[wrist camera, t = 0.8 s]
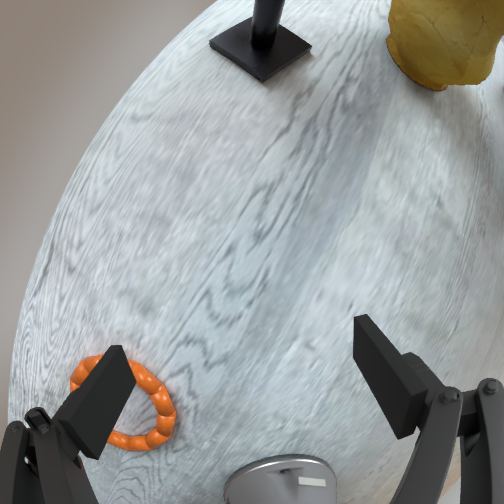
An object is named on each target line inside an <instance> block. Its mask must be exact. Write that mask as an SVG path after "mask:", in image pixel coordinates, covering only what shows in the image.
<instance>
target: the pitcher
mask: <svg viewBox="0 0 504 504" xmlns="http://www.w3.org/2000/svg"><path fill="white" fill-rule="evenodd" d="M388 22H389V27H390V32H391V33H390V35H389V37H388V38H387V39H386V40H387V47H388V50H389V52H390V54H391V56H392V58H393V59H394V61H395V63H396V64H397V65H399V66H400V69H401V70H402V71H403V72H404V73H406V74H407V75H408V76H410V78H411V79H412V80H414V81H415V82H417V83H419V84H421V85H423V86H425V87H426V88H427V87H428V88H430V89H432V90H433V89H436V90H439V91H441V90H442V91H443V90H446V88H447V86H448V85H478V84H480V83H481V82H482V81H484V80H486V78H487V77H488V76H489V74H490V73H491V71H492V67H493V63H494V60H495V52H496V48H497V45H498V43H499V41H500V39H501V37H502V36H503V35H504V0H392V2H391V9H390V12H389V17H388Z"/></svg>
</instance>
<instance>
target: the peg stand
mask: <svg viewBox="0 0 504 504" xmlns="http://www.w3.org/2000/svg"><path fill="white" fill-rule="evenodd" d="M284 3H285V0H255V4H254V11H253V16H252V17H250V18H248V19H246V20H245V21H243V22H241V23H239V24H237V25H235V26H233V27H231V28H230V29H228V30H226V31H224V32H223V33H221V34H219V35H218V36H216V37H214V38H213V39H211V40H210V41H209V42H210V47H212V48H213V49H215V50H217V51H218V52H220V53H221V54H223V55H224V56H226V57H227V58H229V59H230V60H232V61H233V62H235V63H236V64H238V65H239V66H240V67H242V68H243V69H245V70H246V71H247V72H249V73H250V74H252V75H253V76H254V77H256V78H257V79H258V80H260V81H261V82H262V83H264V82H265V81H266V80H268V79H269V78H271V77H272V76H273V75H275V74H276V73H278V72H279V71H281V70H282V69H284V68H285V67H287V66H288V65H290V64H291V63H293V62H294V61H296V60H297V59H299V58H300V57H302V56H303V55H305V54H306V53H308V52H310V50H311V48H312V46H311V45H310V44H309V43H307V42H306V41H304V40H303V39H301V38H300V37H298V36H297V35H295V34H294V33H292V32H291V31H289V30H288V29H286V28H285V27H283V26H281V25H280V24H279V22H280V18H281V14H282V10H283V7H284Z"/></svg>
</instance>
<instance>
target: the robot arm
mask: <svg viewBox="0 0 504 504" xmlns="http://www.w3.org/2000/svg"><path fill="white" fill-rule="evenodd" d="M353 359H354V360H355V362H356V364H357V366H358V368H359V369H360V371H361V373H362V375H363V376H364V378H365V380H366V382H367V384H368V385H369V387H370V389H371V391H372V393H373V394H374V396H375V398H376V400H377V402H378V404H379V405H380V407H381V409H382V411H383V413H384V415H385V417H386V418H387V420H388V422H389V424H390V426H391V428H392V430H393V432H394V434H395V435H396V437H397V439H398V440H399V439H402V438H404V437H407V436H409V435H412V434H414V431H415V428H416V426H417V427H418V428H419V430H420V431H421V432H420V434H419V436H418V439H417V441H416V443H415V448H414V450H413V453H412V456H411V458H410V461H409V463H408V466H407V468H406V470H405V473H404V475H403V477H402V479H401V481H400V484H399V486H398V488H397V490H396V492H395V494H394V496H393V498H392V500H391V502H390V504H437V502H438V499H439V497H440V494H441V491H442V488H443V485H444V482H445V479H446V476H447V473H448V469H449V466H450V462H451V459H452V455H453V451H454V446H455V442H456V437H459V436H460V450H461V494H460V504H504V387H503V385H502V383H501V382H500V381H498V380H497V379H494V378H487V379H483V380H482V381H481V382H480V383H479V385H478V387H477V389H476V390H471V391H466V392H461V391H460V390H458V389H457V388H455V387H451V386H448V387H445V386H444V384H443V383H442V382H441V381H440V380H439V379H438V378H437V376H436V375H435V374H434V373H433V372H432V371H431V369H429V367H428V366H427V365H426V364H425V363H424V362H423V360H422V359H421V358H420V357H419V356H417V355H415V354H413V353H411V352H409V353H406V354H403V355H401V354H400V353H399V352H398V350H397V349H396V348H395V347H394V346H393V344H392V343H391V342H390V341H389V340H388V338H387V337H386V336H385V335H384V334H383V332H382V331H381V330H380V329H379V328H378V327H377V325H376V324H375V323H374V322H373V321H372V320H371V318H370V317H369V316H368V315H367V314H364V315H360V316H355V317H354V339H353ZM136 382H137V381H136V379H135V376H134V374H133V372H132V370H131V367H130V365H129V363H128V360H127V358H126V355H125V353H124V350H123V348H122V345H111V346H110V347H109V349H108V350H107V351H106V352H105V354H104V355H103V356H102V358H101V359H100V360H99V361H98V363H97V364H96V365H95V367H94V368H93V369H92V371H91V372H90V373H89V375H88V376H87V377H86V379H85V380H84V381H83V383H82V384H81V385H80V387H79V388H76V389H75V390H74V391H72V392H71V393H70V394H69V396H68V397H67V398H66V400H65V401H64V402H63V405H61V407H60V408H59V409H58V411H57V412H56V414H55V415H54V416H53V418H52V419H50V417H49V416H48V414H47V413H46V411H45V410H44V409H43V408H42V407H35V408H33V409H30V410H29V411H28V412H27V413H26V415H25V418H24V419H25V421H26V422H27V424H28V425H29V426H30V428H26V427H25V425H24V424H23V423H22V422H21V421H13V422H11V423H10V424H9V425H8V426H7V428H6V431H5V435H4V439H3V442H2V446H1V450H0V504H99V503H98V501H97V499H96V497H95V494H94V492H93V489H92V487H91V485H90V482H89V479H88V477H87V474H86V472H85V469H84V466H83V463H82V460H81V458H80V456H79V455H78V453H79V451H80V450H81V452H82V453H83V454H84V455H85V456H86V457H88V458H92V459H96V460H99V457H100V455H101V453H102V451H103V449H104V447H105V445H106V443H107V440H108V438H109V436H110V434H111V432H112V430H113V428H114V426H115V424H116V422H117V420H118V418H119V416H120V414H121V412H122V410H123V408H124V406H125V404H126V402H127V400H128V398H129V396H130V394H131V392H132V390H133V388H134V386H135V384H136ZM25 457H26V458H27V459H28V464H27V463H26V462H25ZM224 500H225V504H337V481H336V477H335V474H334V472H333V470H332V468H331V467H330V466H329V464H328V463H326V462H325V461H323V460H322V459H319V458H317V457H314V456H309V455H301V454H287V455H279V456H273V457H268V458H264V459H261V460H258V461H255V462H253V463H250V464H248V465H246V466H244V467H242V468H241V469H239V470H238V471H236V472H235V473H234V474H233V475H232V476H231V477H230V478H229V479H228V481H227V482H226V484H225V487H224Z"/></svg>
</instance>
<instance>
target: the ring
mask: <svg viewBox="0 0 504 504" xmlns="http://www.w3.org/2000/svg"><path fill="white" fill-rule="evenodd" d="M103 355H104V354H102V355H97V356H92V357H86V358H84V359H83V360H82V361H81V363H80V364H79V365H78V366H77V368H76V369H75V370H74V372H73V373H72V374H71V376H70V393H71V392H72V391H74V390H75V389H76V388H79V387H80V385H81V384H82V383H83V381H84V380H85V379H86V377H87V376H88V375H89V373H90V372H91V371H92V369H93V368H94V367H95V365H96V364H97V363H98V361H99V360H100V359H101V358H102V356H103ZM127 360H128V363H129V365H130V367H131V370H132V372H133V374H134V376H135V379H136V381H137V382H136V384H137V385H138V386H139V387H140V388H142V389H143V390H144V391H145V392H146V393H147V394H149V396H150V398H151V400H152V402H153V404H154V406H155V408H156V410H157V412H158V416H157V424H156V427H155V428H154V429H153V430H152V431H150V432H149V433H148V434H147V435H141V436H127V435H124V434H121V433H119V432H116V431H113V430H112V432H111V434H110V436H109V438H108V440H107V443H108V444H111V445H114V446H116V447H119V448H122V449H125V450H127V451H145V450H154V449H156V448H158V447H159V446H160V445H161V444H163V443H164V442H165V441H167V440H168V439H169V438H170V437H171V436H172V435H173V431H174V425H175V418H176V409H175V407H174V405H173V403H172V401H171V399H170V396H169V394H168V392H167V390H166V388H165V386H164V384H163V383H162V382H160V381H159V380H158V379H157V378H156V377H155V376H153V375H152V374H151V373H150V372H149V371H148V370H147V369H145V368H144V367H143V366H142V365H141V364H140V363H138V362H135V361H132V360H129V359H127Z"/></svg>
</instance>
